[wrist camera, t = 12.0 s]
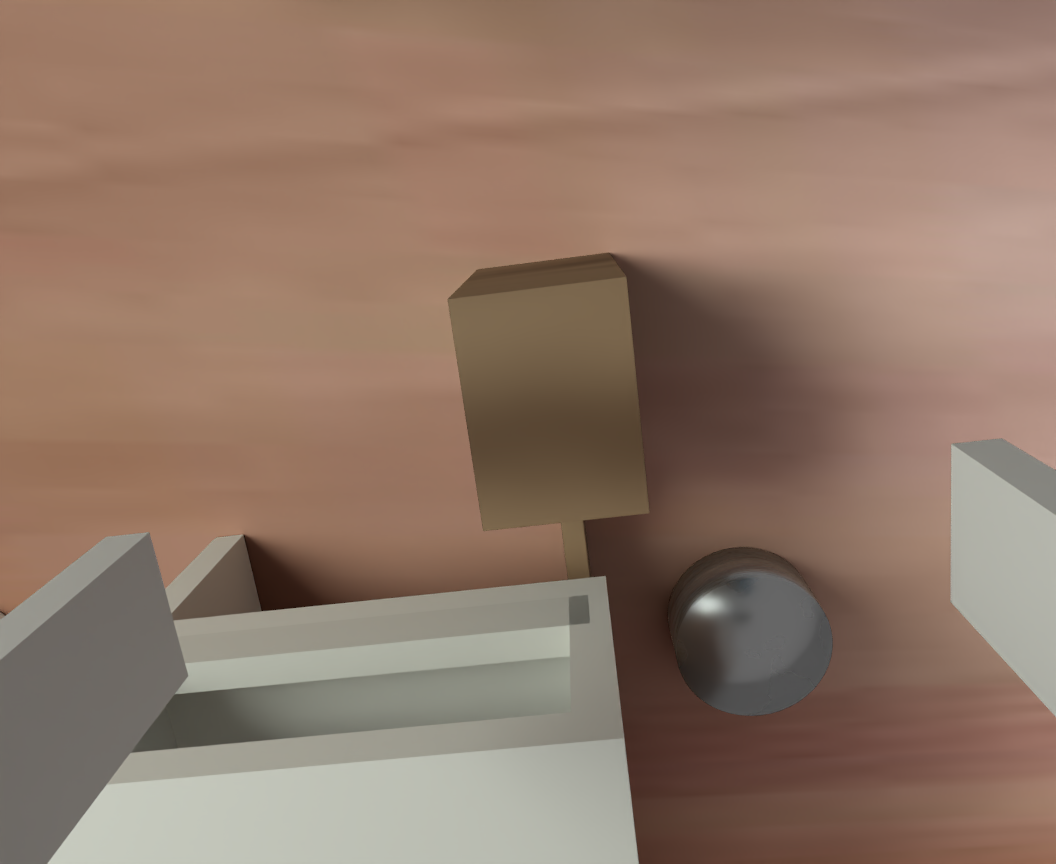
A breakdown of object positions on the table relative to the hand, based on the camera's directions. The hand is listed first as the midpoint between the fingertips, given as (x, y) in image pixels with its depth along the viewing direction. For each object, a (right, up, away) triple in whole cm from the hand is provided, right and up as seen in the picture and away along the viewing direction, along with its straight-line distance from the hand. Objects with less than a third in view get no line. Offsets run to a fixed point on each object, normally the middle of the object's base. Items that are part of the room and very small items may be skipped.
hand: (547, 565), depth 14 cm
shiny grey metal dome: (+9, -5, +22) cm, 24 cm away
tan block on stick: (+1, 0, +21) cm, 21 cm away
